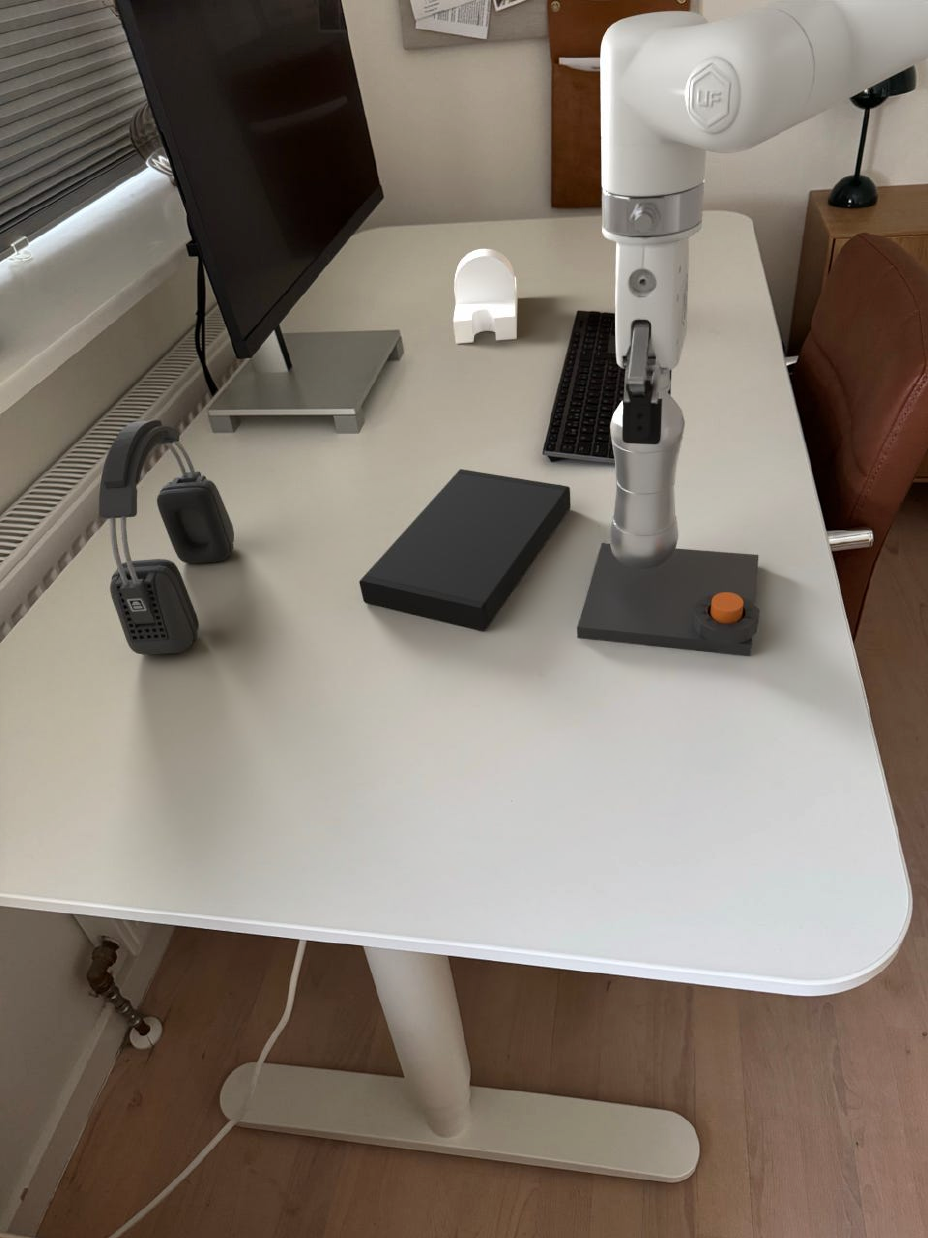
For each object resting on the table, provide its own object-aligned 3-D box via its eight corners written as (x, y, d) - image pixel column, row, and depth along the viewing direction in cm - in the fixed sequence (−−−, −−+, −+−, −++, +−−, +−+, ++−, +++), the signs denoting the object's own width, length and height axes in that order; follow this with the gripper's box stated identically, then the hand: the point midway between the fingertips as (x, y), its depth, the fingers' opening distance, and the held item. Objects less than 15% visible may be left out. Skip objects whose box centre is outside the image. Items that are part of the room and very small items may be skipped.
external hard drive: (363, 602, 94) (358, 580, 92) (461, 489, 109) (459, 468, 107) (485, 631, 88) (482, 608, 86) (570, 508, 103) (570, 486, 101)
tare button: (742, 606, 83) (744, 593, 82) (741, 625, 81) (742, 612, 80) (711, 603, 84) (712, 590, 83) (709, 622, 82) (710, 609, 81)
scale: (760, 565, 91) (763, 541, 89) (754, 659, 81) (757, 634, 79) (601, 553, 96) (601, 530, 94) (576, 640, 86) (575, 616, 84)
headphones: (190, 663, 89) (120, 492, 77) (130, 666, 90) (50, 498, 77) (241, 536, 106) (190, 379, 94) (190, 540, 107) (133, 384, 94)
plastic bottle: (598, 549, 91) (595, 363, 78) (659, 531, 92) (666, 345, 79) (625, 584, 86) (627, 392, 73) (689, 566, 87) (702, 373, 74)
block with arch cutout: (516, 338, 142) (511, 268, 135) (455, 343, 143) (447, 274, 136) (517, 297, 156) (512, 231, 149) (462, 302, 157) (454, 237, 150)
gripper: (691, 246, 60) (679, 475, 72) (711, 175, 73) (699, 380, 84) (582, 248, 63) (587, 470, 74) (619, 179, 75) (619, 378, 86)
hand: (647, 420), depth 79 cm, fingers closed on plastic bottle, 6 cm apart
